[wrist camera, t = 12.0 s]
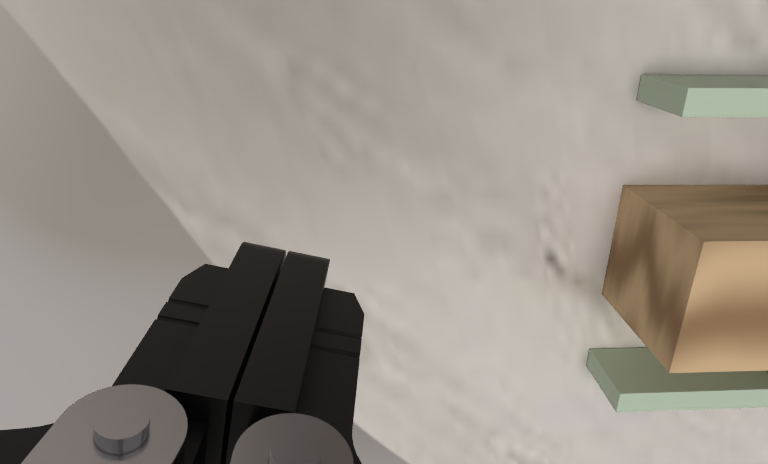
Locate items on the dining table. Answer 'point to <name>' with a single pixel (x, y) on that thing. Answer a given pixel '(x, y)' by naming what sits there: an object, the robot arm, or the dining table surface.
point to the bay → (638, 365)
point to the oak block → (693, 274)
